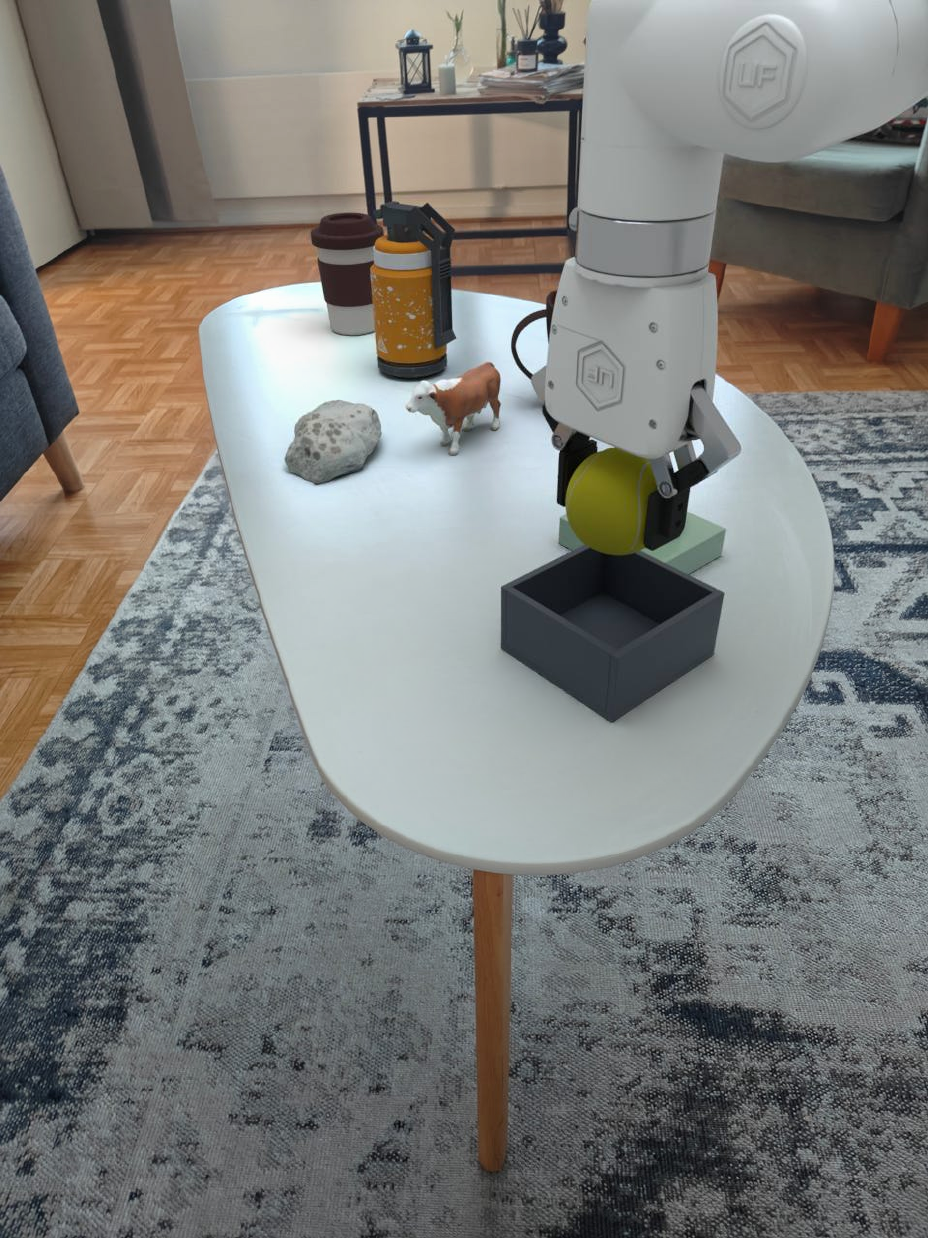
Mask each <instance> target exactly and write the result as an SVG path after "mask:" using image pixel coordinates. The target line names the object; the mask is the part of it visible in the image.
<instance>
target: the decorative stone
mask: <svg viewBox="0 0 928 1238" xmlns="http://www.w3.org/2000/svg"><path fill="white" fill-rule="evenodd" d="M293 432H294V433H293V434H294V438H293V441H292V442H291V443H290V444H289V446H288V448H287V450H286V453H285V455H284V462H285V464H286V467H287V469H288V470H289V471H290V472H292V473H293V474H294V475H297V476H299V477H301V478H302V479H304V480H305V481H310V482H313V483H314V484H316V485H317V484H318V485H319V484H323V483H326V482H328V481H332V480H333V479H334V478H336V477H339V476H345V475H347V474H350V473H355V472H358V471H360V470H362V468H363V466H364V465H365V462H366V459H367V458H368V457H369V456H370V455H371V454H372V453H373V451H374V449H375V448H376V446H377V444H378V442H379V441H380V439H381V438H382V434H383V433H382V424H381V421H380V418H379V414H378V412H377V410H375V409H374V408H373V407H372V406H370V405H367V404H365V403H361V402H360V403H353V402H350V401H346V400H341V399H335V400H328V401H325V402H323V403H321V404H319V405H318V406H317V407H316V408H314V409H313V410H311V411H309V412H307V413H305V414H303V415H302V416H301V417H299V419H298V420H297V422H295V424H294V430H293Z"/></svg>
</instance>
